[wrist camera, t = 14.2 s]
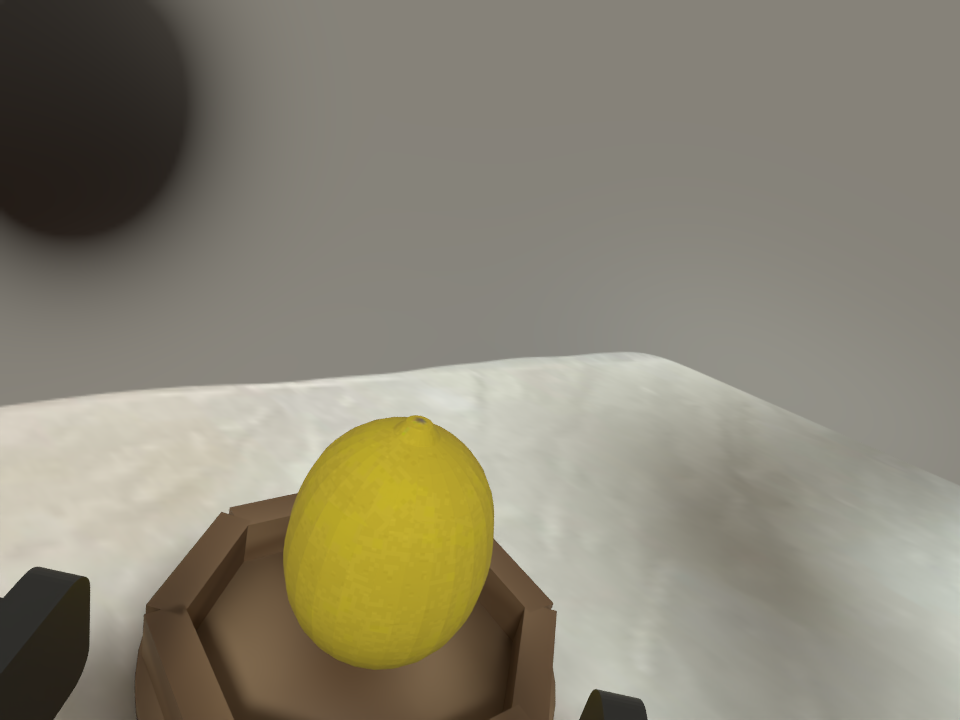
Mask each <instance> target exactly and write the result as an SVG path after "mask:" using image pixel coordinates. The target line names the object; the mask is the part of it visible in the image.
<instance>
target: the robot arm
mask: <svg viewBox="0 0 960 720" xmlns="http://www.w3.org/2000/svg"><path fill="white" fill-rule="evenodd" d="M89 634H90V582H89V579H88V578H87V577H84V576H79V575H75V574H70V573H65V572H61V571H56V570H52V569H47V568H42V567H34V568H32V569H30V570H29V571H28V572H27V573H26V574H25V575H24V576H23V577H22V578H21V579H20V580H19V581H18V582H17V583H16V584H15V586H14V587H13V588H12V589H11V590H10V591H9V592H8V593H7V594H6V595H5V597H4V598H0V720H53V719H54V718H55V716H56V715H57V713H58V712H59V710H60V709H61V707H62V706H63V704H64V703H65V701H66V700H67V698H68V697H69V696H70V694H71V693H72V691H73V689H74V688H75V686H76V684H77V682H78V680H79V678H80V676H81V674H82V672H83V669H84V666H85V664H86V660H87V657H88V652H89ZM579 720H648V719H647V714H646V709H645V706H644V703H643V702H642V700H641V699H639V698H634V697H629V696H625V695H620V694H616V693H611V692H606V691H602V690H597V689H595V690H593V691H592V693H591V694H590V696H589V698H588V701H587V703H586V705H585V708H584V710H583V712H582V714H581V717H580V719H579Z"/></svg>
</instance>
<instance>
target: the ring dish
mask: <svg viewBox="0 0 960 720" xmlns="http://www.w3.org/2000/svg"><path fill="white" fill-rule="evenodd" d="M297 494H298V493H296V494H292V495H287V496H282V497H277V498H273V499H268V500H263V501H259V502H254V503H249V504H244V505H240V506H235V507H230V510H229V514H226V513H223V512H221V513H220V514H219V516H218V517H217V518H216V519H215V521H214V522H213V523H212V524H211V526H210V527H209V528H208V529H207V531H206V532H205V533H204V534H203V535H202V537H201V538H200V539H199V540H198V542H197V543H196V544H195V545H194V547H193V548H192V549H191V550H190V551H189V553H188V554H187V555H186V556H185V558H184V559H183V560H182V561H181V563H180V564H179V565H178V566H177V568H176V569H175V570H174V571H173V572H172V574H171V575H170V576H169V577H168V579H167V580H166V581H165V582H164V584H163V585H162V586H161V587H160V588H159V590H158V591H157V592H156V593H155V595H154V596H153V597H152V598H151V600H150V601H149V602H148V603H147V604H146V614H144V626H143V637H142V640H141V644H140V647H139V650H138V658H137V666H136V673H135V704H136V716H137V720H553V717H554V710H555V679H554V673H553V655H554V641H555V628H556V614H557V611H554V610H551V608H552V605H553V602H552V601H551V600H550V599H549V598H548V597H547V596H546V595H545V594H544V593H543V592H542V590H541V589H540V588H539V587H538V586H537V585H536V584H535V583H534V582H533V581H532V580H531V579H530V577H529V576H528V575H527V574H526V573H525V572H524V571H523V570H522V569H521V568H520V567H519V566H518V564H517V563H516V562H515V561H514V560H513V559H512V558H511V557H510V556H509V555H508V554H507V553H506V551H505V550H504V549H503V548H502V547H501V546H500V545H499V544H498V543H497V542H496V541H495V540H494V538H493V550H492V557H491V563H490V568H489V571H488V575H487V578H486V581H485V583H484V586H483V588H482V591H481V593H480V595H479V597H478V600H477V602H476V604H475V606H474V608H473V610H472V612H471V614H470V615H469V617H468V619H467V620H466V622H465V623H464V624H463V625H462V627H461V628H460V629H459V630H458V631H457V632H456V633H455V635H454V636H453V637H452V638H451V639H450V640H449V641H448V642H447V643H446V644H445V645H444V646H443V647H442V648H440V649H439V650H437V651H436V652H434V653H432V654H430V655H429V656H427V657H425V658H424V659H422V660H420V661H418V662H416V663H412V664H409V665H405V666H402V667H398V668H395V669H381V670H372V669H366V668H359V667H354V666H352V665H349V664H346V663H344V662H341V661H339V660H337V659H335V658H333V657H332V656H330V655H329V654H327V653H326V652H324V651H323V650H321V649H320V648H319V647H318V646H317V645H316V644H315V643H314V642H313V641H312V640H311V639H310V638H309V636H308V635H307V634H306V633H305V632H304V631H303V629H302V628H301V626H300V624H299V622H298V620H297V618H296V616H295V614H294V612H293V610H292V608H291V605H290V603H289V600H288V595H287V590H286V583H285V576H284V566H283V550H284V542H285V537H286V532H287V528H288V524H289V520H290V515H291V511H292V508H293V505H294V502H295V499H296V497H297Z"/></svg>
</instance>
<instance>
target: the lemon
mask: <svg viewBox="0 0 960 720" xmlns="http://www.w3.org/2000/svg"><path fill="white" fill-rule="evenodd" d="M493 534H494V506H493V499H492V493H491V490H490V487H489V484H488V482H487V479H486V476H485V473H484V471H483V469H482V467H481V465H480V464H479V462H478V461H477V459H476V458H475V457H474V455H473V454H472V452H471V451H470V450H469V449H468V448H467V447H466V446H465V444H464V443H462V442H461V441H460V440H459V439H458V438H457V437H455V436H454V435H453V434H451V433H450V432H448V431H447V430H445V429H443V428H442V427H440V426H438V425H435V424H433V423H432V422H431V421H430V420H429V419H427V418H425V417H423V416H417V415H414V416H410V417H391V418H385V419H378V420H374V421H371V422H368V423H366V424H363V425H360V426H358V427H355V428H353V429H351V430H350V431H348V432H346V433H345V434H343V435H342V436H341V437H339V438H338V439H336V440H335V441H334V442H333V443H332V444H330V445H329V446H328V447H327V448H326V449H325V451H324V452H323V453H322V454H321V456H320V457H319V458H318V460H317V461H316V463H315V464H314V465H313V467H312V468H311V470H310V471H309V473H308V475H307V476H306V478H305V480H304V482H303V484H302V486H301V488H300V490H299V492H298V494H297V497H296V499H295V502H294V505H293V508H292V511H291V515H290V520H289V524H288V528H287V532H286V537H285V542H284V550H283V566H284V576H285V583H286V590H287V595H288V600H289V603H290V605H291V608H292V610H293V612H294V614H295V616H296V618H297V620H298V622H299V624H300V626H301V628H302V629H303V631H304V632H305V633H306V634H307V635H308V636H309V638H310V639H311V640H312V641H313V642H314V643H315V644H316V645H317V646H318V647H319V648H320V649H321V650H323V651H324V652H326V653H327V654H329V655H330V656H332V657H333V658H335V659H337V660H339V661H341V662H344V663H346V664H349V665H352V666H354V667H359V668H366V669H372V670H381V669H395V668H398V667H402V666H405V665H409V664H412V663H416V662H418V661H420V660H422V659H424V658H425V657H427V656H429V655H430V654H432V653H434V652H436V651H437V650H439V649H440V648H442V647H443V646H444V645H445V644H446V643H447V642H448V641H449V640H450V639H451V638H452V637H453V636H454V635H455V633H456V632H457V631H458V630H459V629H460V628H461V627H462V625H463V624H464V623H465V622H466V620H467V619H468V617H469V615H470V614H471V612H472V610H473V608H474V606H475V604H476V602H477V600H478V597H479V595H480V593H481V591H482V588H483V586H484V583H485V581H486V578H487V575H488V571H489V568H490V563H491V557H492V550H493Z"/></svg>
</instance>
